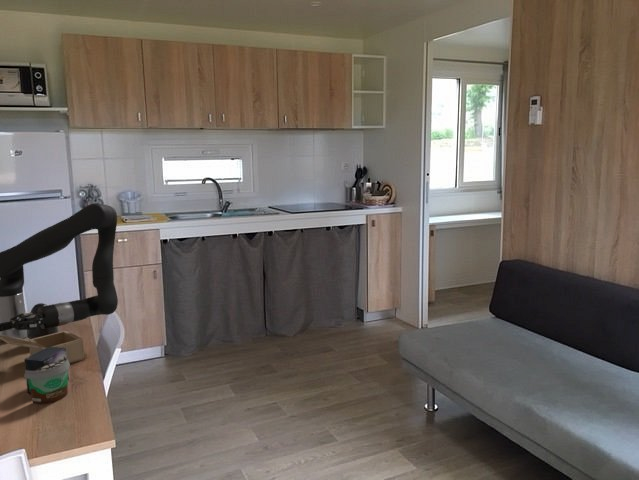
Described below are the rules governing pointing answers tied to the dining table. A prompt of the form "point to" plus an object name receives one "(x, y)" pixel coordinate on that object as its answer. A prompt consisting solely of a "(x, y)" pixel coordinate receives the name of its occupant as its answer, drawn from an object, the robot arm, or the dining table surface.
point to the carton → (61, 344)
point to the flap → (18, 341)
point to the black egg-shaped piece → (39, 331)
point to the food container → (48, 382)
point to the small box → (44, 359)
